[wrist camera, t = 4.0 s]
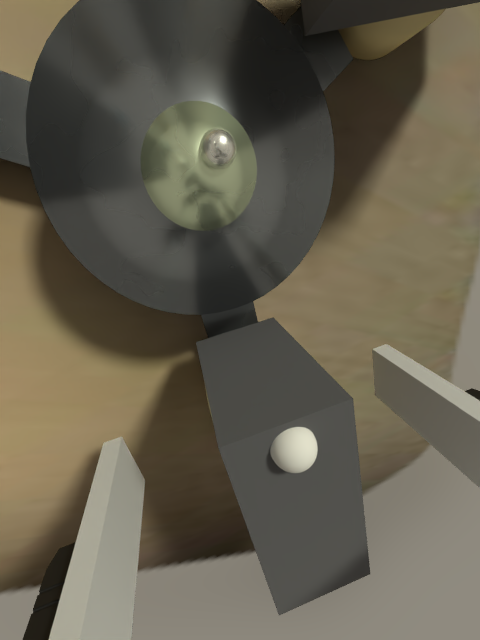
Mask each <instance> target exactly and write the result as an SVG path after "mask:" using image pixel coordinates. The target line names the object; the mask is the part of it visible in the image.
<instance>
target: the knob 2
mask: <svg viewBox="0 0 480 640" xmlns="http://www.w3.org/2000/svg"><path fill="white" fill-rule="evenodd" d="M477 2H480V0H301V5H302V14H303V23H304V32H305V36H307V35H313V34H318V33H323V32H328V31H333V30H338V31H339V33H340V34H341V36H342V38H343V40H344V42H345V44H346V46H347V48H348V50H349V52H350V54H351V55H352V56H353V57H355V58H358V59H362V60H374V59H378V58H381V57H383V56H385V55H387V54H389V53H390V52H391V51H393V50H394V49H396V48H397V47H398V46H400V45H401V44H403V43H404V42H406V41H407V40H408V39H410V38H411V37H413V36H414V35H415V34H417V33H418V32H420V31H421V30H422V29H424V28H425V27H427V26H428V25H429V24H431V23H432V22H434V21H435V20H436V19H437V18H438V17H439V16H440V15H441V14H442V13H443V11H444V10H445V9H446V8H451V7H457V6H462V5H467V4H472V3H477Z"/></svg>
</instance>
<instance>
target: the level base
mask: <svg viewBox="0 0 480 640" xmlns="http://www.w3.org/2000/svg"><path fill="white" fill-rule="evenodd" d="M352 60H353V57H352V55H351V54H350V52H349V50H348V48H347V46H346V44H345V42H344V40H343V38H342V36H341V34H340V33H339V31H338V30H333V31H328V32H323V33H318V34H313V35H307V36H305V32H304V23H303V14H302V5H301V6H300V8H299V9H298V10H297V11H296V12H295V13H294V14H293V15H292V16H291V18H290V19H289V20H288V21H287V22H286V23H285V24H284V25H283V24H282V23H281V22H280V21H279V20H278V19H277V18H276V17H275V16H274V15H273V14H272V13H271V12H270V11H268V10H267V9H266V8H265V7H264V6H263V5H262V4H261V3H259V2H258V1H256V0H79V1H78V2H77V3H76V4H75V5H74V6H73V7H72V8H71V9H70V10H69V11H68V12H67V14H66V15H65V16H64V17H63V18H62V19H61V20H60V22H59V23H58V24H57V26H56V27H55V29H54V30H53V32H52V33H51V35H50V36H49V38H48V39H47V41H46V43H45V45H44V48H43V50H42V52H41V54H40V56H39V58H38V61H37V63H36V66H35V69H34V73H33V77H32V80H31V82H29V81H27V80H24V79H21V78H19V77H16V76H13V75H11V74H8V73H5V72H3V71H0V158H1V159H4V160H7V161H11V162H14V163H17V164H21V165H24V166H27V167H30V169H31V172H32V176H33V180H34V183H35V187H36V190H37V193H38V195H39V198H40V200H41V203H42V205H43V207H44V210H45V212H46V214H47V216H48V218H49V219H50V221H51V223H52V225H53V227H54V229H55V230H56V232H57V234H58V235H59V236H60V238H61V239H62V241H63V242H64V243H65V245H66V246H67V248H68V249H69V250H70V252H71V253H72V254H73V255H74V256H75V257H76V258H77V259H78V260H79V261H80V263H81V264H82V265H83V266H84V267H85V268H86V269H87V270H89V271H90V272H91V273H92V274H93V275H94V276H95V277H96V278H98V279H99V280H100V281H101V282H103V283H104V284H106V285H107V286H109V287H110V288H111V289H113V290H114V291H116V292H117V293H119V294H121V295H123V296H125V297H127V298H129V299H131V300H132V301H135V302H137V303H140V304H142V305H145V306H148V307H150V308H154V309H158V310H161V311H165V312H170V313H178V314H193V315H201V316H202V320H203V323H204V326H205V329H206V332H207V335H208V338H211V337H214V336H217V335H220V334H223V333H226V332H229V331H233V330H236V329H239V328H242V327H245V326H248V325H251V324H254V323H258V321H257V316H256V312H255V308H254V304H253V301H254V300H256V299H258V298H260V297H262V296H264V295H265V294H266V293H268V292H269V291H271V290H272V289H274V288H275V287H277V286H278V285H279V284H280V283H281V282H282V281H283V280H284V279H286V278H287V277H288V276H289V275H290V274H291V273H292V272H293V270H294V269H295V268H296V267H297V266H298V265H299V264H300V262H301V261H302V260H303V258H304V257H305V255H306V254H307V252H308V251H309V250H310V248H311V246H312V244H313V242H314V240H315V239H316V237H317V235H318V233H319V230H320V228H321V225H322V223H323V221H324V218H325V215H326V212H327V208H328V205H329V201H330V196H331V191H332V185H333V177H334V162H335V160H334V139H333V132H332V125H331V119H330V115H329V111H328V107H327V103H326V99H325V96H324V94H323V91H324V90H325V89H326V88H327V87H328V86H329V85H330V84H331V82H332V81H333V80H334V79H335V78H336V77H337V76H338V75H339V74H340V73H341V72H342V71H343V70H344V69H345V68H346V67H347V65H348V64H349V63H350V62H351V61H352Z"/></svg>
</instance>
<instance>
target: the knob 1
mask: <svg viewBox="0 0 480 640" xmlns="http://www.w3.org/2000/svg"><path fill="white" fill-rule="evenodd" d="M196 345H197V349H198V354H199V359H200V364H201V368H202V373H203V378H204V382H205V391H206V396H207V401H208V406H209V410H210V415H211V418H212V420H213V425H214V429H215V434H216V439H217V443H218V448H219V451H220V454H221V456H222V459H223V462H224V465H225V467H226V470H227V473H228V476H229V478H230V481H231V484H232V487H233V490H234V492H235V495H236V498H237V501H238V503H239V506H240V509H241V512H242V514H243V517H244V520H245V523H246V525H247V528H248V531H249V534H250V536H251V539H252V542H253V545H254V547H255V550H256V553H257V556H258V559H259V561H260V564H261V566H262V570H263V572H264V575H265V578H266V581H267V583H268V586H269V589H270V591H271V594H272V597H273V600H274V603H275V605H276V608H277V611H278V614H279V615H281V614H283V613H286V612H288V611H290V610H292V609H294V608H296V607H299V606H301V605H303V604H305V603H307V602H310V601H312V600H314V599H316V598H318V597H320V596H323V595H325V594H327V593H329V592H332V591H334V590H336V589H338V588H340V587H342V586H345V585H347V584H349V583H351V582H353V581H356V580H358V579H360V578H362V577H364V576H367V575H369V574H370V567H369V557H368V547H367V537H366V527H365V516H364V506H363V496H362V486H361V476H360V466H359V456H358V446H357V435H356V425H355V415H354V405H353V398H352V397H351V396H350V395H349V394H348V393H347V392H346V391H345V390H344V389H343V388H342V387H341V386H340V385H339V384H338V383H337V382H336V381H335V380H334V379H333V378H332V377H331V376H330V375H329V374H328V373H327V372H326V371H325V370H324V369H323V368H322V367H321V366H320V365H319V364H318V363H317V362H316V361H315V360H314V359H313V358H312V356H311V355H310V354H309V353H308V352H307V351H306V350H305V349H304V348H303V347H302V346H301V345H300V344H299V343H298V342H297V341H296V340H295V339H294V338H293V337H292V336H291V335H290V334H289V333H288V332H287V331H286V330H285V329H284V328H283V327H282V326H281V325H280V324H279V323H278V322H277V321H276V320H275V319H274V318H270V319H267V320H264V321H261V322H258V323H254V324H251V325H248V326H245V327H242V328H239V329H236V330H233V331H229V332H226V333H223V334H220V335H217V336H214V337H211V338H208V339H204V340H201V341H198V342H196Z"/></svg>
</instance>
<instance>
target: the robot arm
mask: <svg viewBox="0 0 480 640" xmlns="http://www.w3.org/2000/svg"><path fill="white" fill-rule="evenodd" d="M372 353H373V369H374V386H375V395H376V396H377V397H378V398H379V399H380V400H381V401H382V402H384V403H385V404H386V405H387V406H388V407H389V408H390V409H391V410H393V411H394V412H395V413H396V414H397V415H398V416H399V417H400V418H402V419H403V420H404V421H405V422H406V423H407V424H408V425H409V426H411V427H412V428H413V429H414V430H415V431H416V432H417V433H418V434H420V435H421V436H422V437H423V438H424V439H425V440H426V441H427V442H429V443H430V444H431V445H432V446H433V447H434V448H435V449H436V450H438V451H439V452H440V453H441V454H442V455H443V456H444V457H446V458H447V459H448V460H449V461H450V462H451V463H452V464H453V465H454V466H456V467H457V468H458V469H459V470H460V471H461V472H462V473H463V474H465V475H466V476H467V477H468V478H469V479H470V480H471V481H472V482H474V483H475V484H476V485H477V486H478V487H480V391H478V390H475V389H470V390H467V391H463V390H461V389H460V388H458V387H456V386H455V385H453V384H451V383H450V382H448V381H447V380H445V379H443V378H442V377H440V376H438V375H437V374H435V373H433V372H432V371H430V370H428V369H427V368H425V367H424V366H422V365H420V364H419V363H417V362H415V361H414V360H412V359H410V358H409V357H407V356H405V355H404V354H402V353H400V352H399V351H397V350H396V349H394V348H392V347H391V346H389V345H387V344H385V345H382V346H380V347H377V348H374V349H372ZM144 488H145V479H144V477H143V475H142V474H141V472H140V470H139V468H138V466H137V464H136V462H135V460H134V458H133V457H132V455H131V453H130V451H129V449H128V447H127V445H126V443H125V442H124V440H123V438H122V437H119V438H116V439H113V440H110V441H107V442H105V443H103V447H102V450H101V454H100V457H99V461H98V465H97V468H96V472H95V475H94V479H93V483H92V486H91V490H90V493H89V497H88V500H87V504H86V508H85V511H84V515H83V518H82V522H81V525H80V529H79V533H78V536H77V540H76V542H75V543H73V544H70V545H68V546H65V547H62V548H60V549H59V550H58V552H57V553H56V555H55V557H54V558H53V560H52V561H51V563H50V565H49V566H48V568H47V570H46V573H45V576H44V578H43V581H42V584H41V587H40V590H39V592H40V594H39V595H38V596H37V599H36V602H35V605H34V608H33V614H31V617H30V620H29V623H28V626H27V629H26V632H25V634H24V637H23V640H131V638H132V627H133V614H134V603H135V592H136V580H137V569H138V557H139V546H140V534H141V523H142V511H143V499H144Z"/></svg>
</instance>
